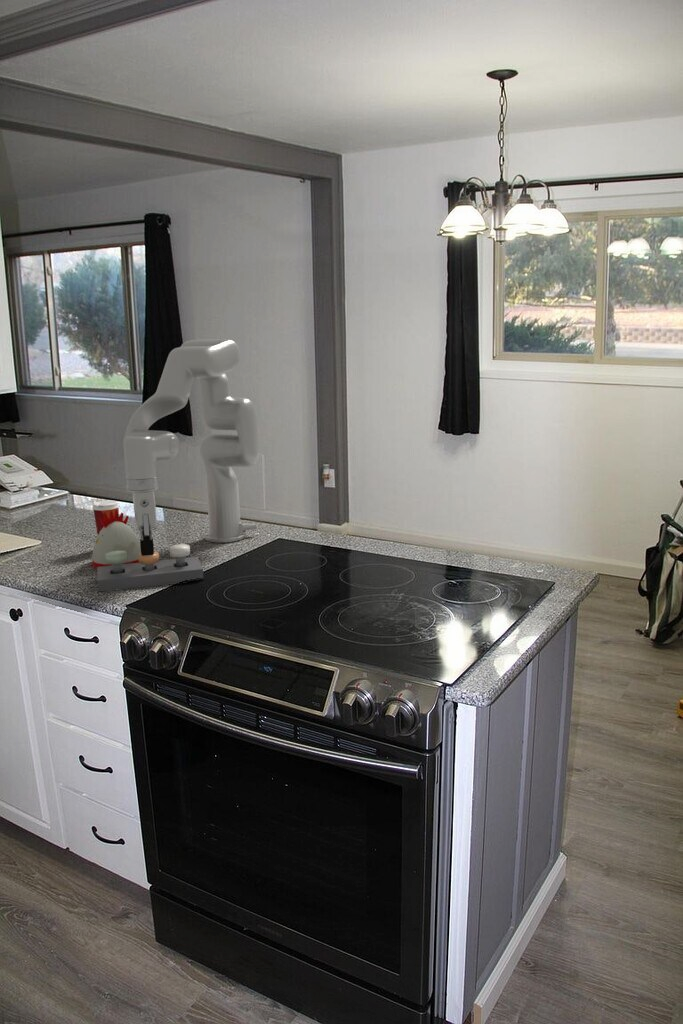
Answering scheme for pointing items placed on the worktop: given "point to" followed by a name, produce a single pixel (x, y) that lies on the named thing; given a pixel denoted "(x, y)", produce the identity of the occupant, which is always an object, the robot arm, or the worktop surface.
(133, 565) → the console
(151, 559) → the button terracotta
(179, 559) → the button ivory
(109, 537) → the white rounded crested piece
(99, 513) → the paper cup
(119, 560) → the button sage
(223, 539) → the robot arm
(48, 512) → the worktop surface
